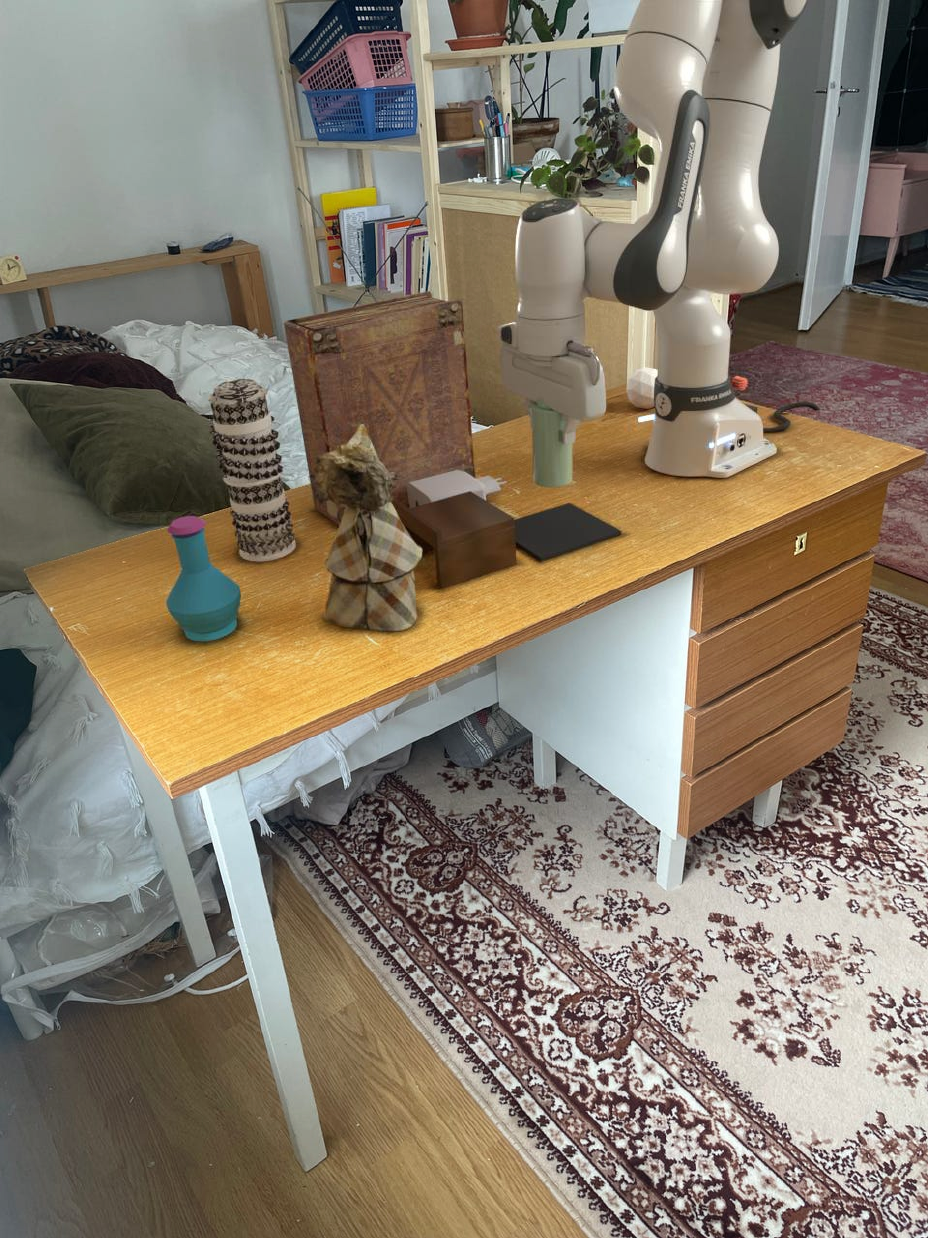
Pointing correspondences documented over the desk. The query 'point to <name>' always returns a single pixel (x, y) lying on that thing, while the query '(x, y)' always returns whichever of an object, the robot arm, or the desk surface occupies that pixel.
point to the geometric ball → (642, 387)
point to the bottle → (549, 448)
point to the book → (385, 386)
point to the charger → (450, 487)
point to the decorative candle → (251, 470)
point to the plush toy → (366, 541)
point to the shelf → (462, 536)
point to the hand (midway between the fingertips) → (552, 436)
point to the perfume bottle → (200, 586)
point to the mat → (560, 531)
